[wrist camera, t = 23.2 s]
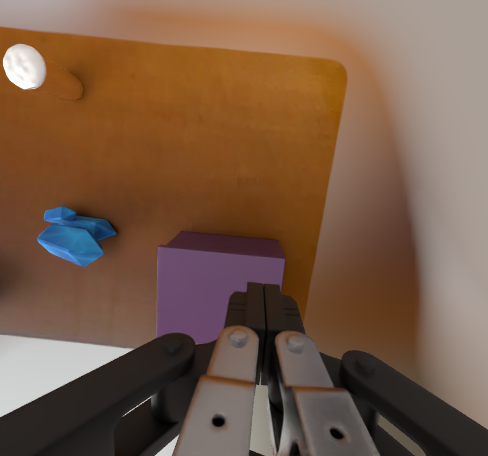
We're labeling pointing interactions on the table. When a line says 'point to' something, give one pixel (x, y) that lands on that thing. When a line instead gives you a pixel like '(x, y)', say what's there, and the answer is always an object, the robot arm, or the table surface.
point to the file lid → (206, 287)
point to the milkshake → (40, 73)
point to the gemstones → (74, 235)
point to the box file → (227, 243)
